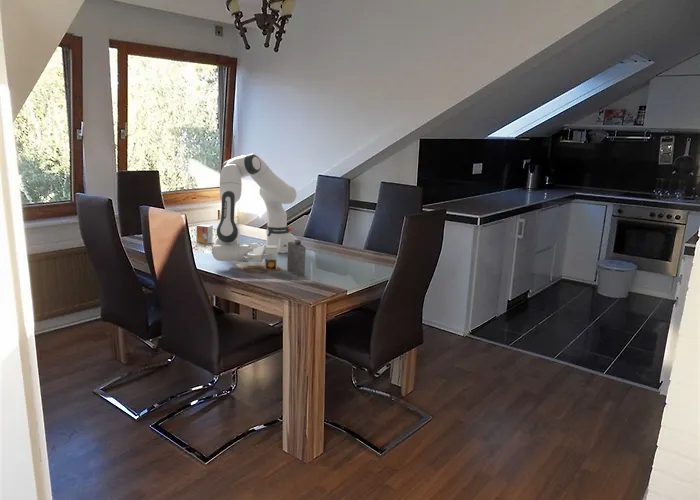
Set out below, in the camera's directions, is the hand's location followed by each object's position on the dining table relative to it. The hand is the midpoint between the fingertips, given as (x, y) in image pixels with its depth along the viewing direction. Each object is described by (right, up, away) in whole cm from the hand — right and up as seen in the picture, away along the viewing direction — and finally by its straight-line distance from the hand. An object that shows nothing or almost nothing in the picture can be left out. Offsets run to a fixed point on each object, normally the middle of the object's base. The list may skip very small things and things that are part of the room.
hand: (273, 254), depth 273 cm
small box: (-50, +7, +57) cm, 76 cm away
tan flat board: (-7, -8, +2) cm, 11 cm away
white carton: (-1, -7, +1) cm, 7 cm away
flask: (+12, -11, -6) cm, 18 cm away
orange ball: (-1, -5, +1) cm, 5 cm away
